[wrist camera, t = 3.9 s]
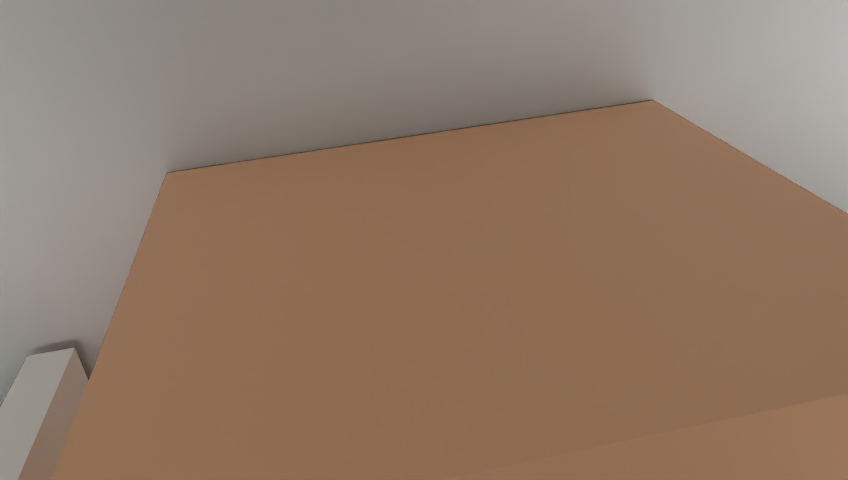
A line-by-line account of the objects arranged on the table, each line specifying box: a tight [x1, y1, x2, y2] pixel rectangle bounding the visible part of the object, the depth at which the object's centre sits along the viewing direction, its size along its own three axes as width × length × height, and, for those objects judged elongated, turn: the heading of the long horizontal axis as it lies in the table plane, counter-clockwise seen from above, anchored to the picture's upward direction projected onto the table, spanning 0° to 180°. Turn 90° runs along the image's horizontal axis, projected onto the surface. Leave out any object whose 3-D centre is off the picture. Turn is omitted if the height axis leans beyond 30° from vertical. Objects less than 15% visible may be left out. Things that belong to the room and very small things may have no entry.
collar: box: [51, 100, 848, 480], centre depth 10 cm, size 8×8×7 cm
